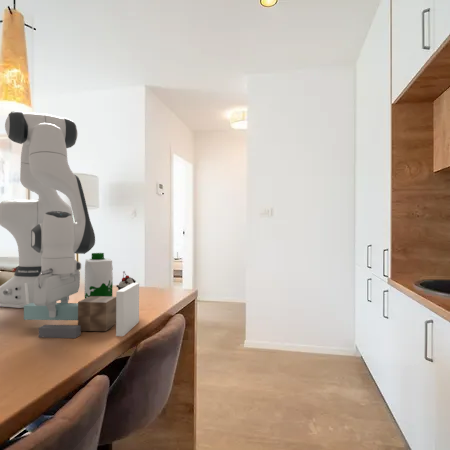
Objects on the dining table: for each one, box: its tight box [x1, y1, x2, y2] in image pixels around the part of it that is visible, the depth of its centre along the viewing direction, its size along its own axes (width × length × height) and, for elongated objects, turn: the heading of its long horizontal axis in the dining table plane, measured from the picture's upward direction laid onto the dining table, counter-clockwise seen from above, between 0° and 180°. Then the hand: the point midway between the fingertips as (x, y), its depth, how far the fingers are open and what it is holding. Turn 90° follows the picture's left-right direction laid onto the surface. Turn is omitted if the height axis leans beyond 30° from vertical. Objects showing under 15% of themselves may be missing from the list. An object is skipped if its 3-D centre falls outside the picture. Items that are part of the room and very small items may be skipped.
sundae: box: [115, 270, 137, 291], centre depth 115 cm, size 7×7×15 cm
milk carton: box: [84, 252, 114, 299], centre depth 120 cm, size 9×9×20 cm
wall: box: [115, 282, 140, 337], centre depth 102 cm, size 2×14×12 cm, turn 177°
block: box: [77, 296, 116, 332], centre depth 102 cm, size 8×8×8 cm
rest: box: [38, 324, 82, 339], centre depth 95 cm, size 10×3×2 cm, turn 87°
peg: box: [23, 302, 78, 321], centre depth 103 cm, size 18×4×4 cm, turn 88°
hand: (58, 314), depth 103 cm, fingers closed on peg, 4 cm apart
